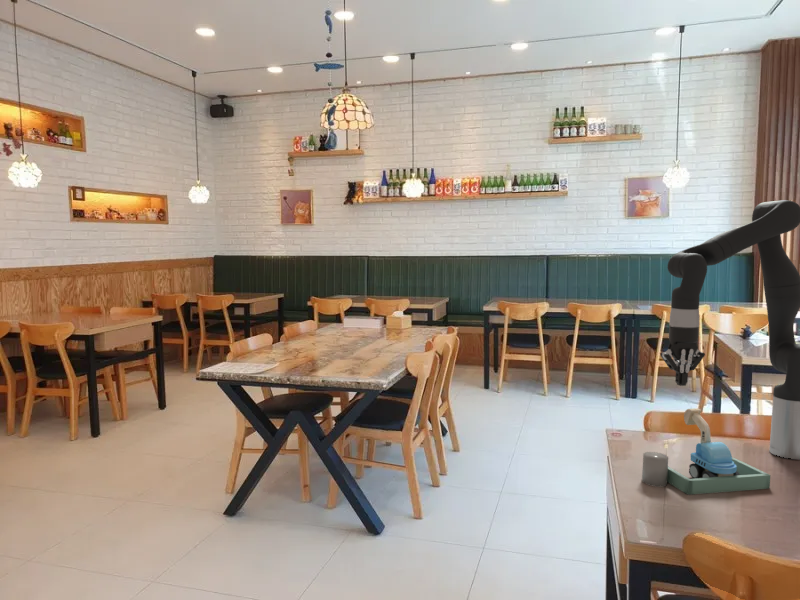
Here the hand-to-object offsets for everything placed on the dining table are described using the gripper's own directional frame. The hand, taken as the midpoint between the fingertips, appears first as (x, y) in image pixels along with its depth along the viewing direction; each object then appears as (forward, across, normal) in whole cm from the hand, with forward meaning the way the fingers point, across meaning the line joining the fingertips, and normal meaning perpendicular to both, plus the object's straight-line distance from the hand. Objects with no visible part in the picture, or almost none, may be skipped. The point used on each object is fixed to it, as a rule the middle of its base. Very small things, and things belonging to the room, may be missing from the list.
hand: (681, 385), depth 167 cm
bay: (+22, +1, +14) cm, 26 cm away
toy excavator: (+22, 0, +12) cm, 26 cm away
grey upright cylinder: (+22, +16, +12) cm, 30 cm away
